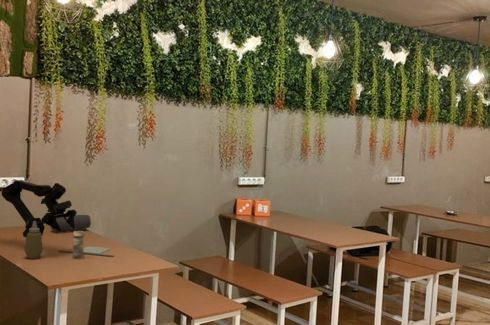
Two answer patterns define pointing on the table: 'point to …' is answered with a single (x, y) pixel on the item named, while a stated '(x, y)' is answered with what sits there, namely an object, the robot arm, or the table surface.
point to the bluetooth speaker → (79, 222)
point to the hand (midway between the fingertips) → (67, 229)
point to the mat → (95, 250)
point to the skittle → (78, 244)
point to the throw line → (88, 253)
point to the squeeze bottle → (33, 242)
